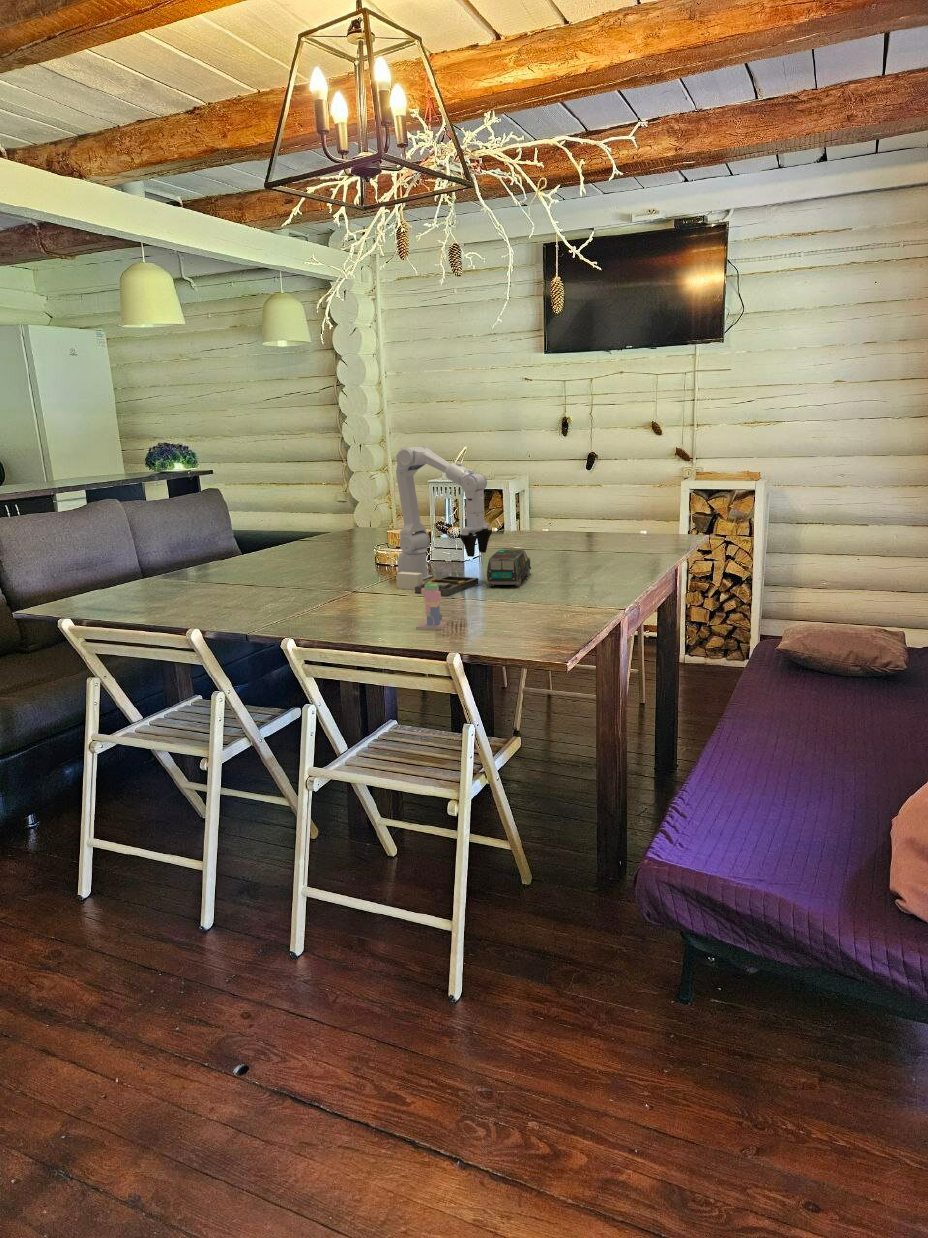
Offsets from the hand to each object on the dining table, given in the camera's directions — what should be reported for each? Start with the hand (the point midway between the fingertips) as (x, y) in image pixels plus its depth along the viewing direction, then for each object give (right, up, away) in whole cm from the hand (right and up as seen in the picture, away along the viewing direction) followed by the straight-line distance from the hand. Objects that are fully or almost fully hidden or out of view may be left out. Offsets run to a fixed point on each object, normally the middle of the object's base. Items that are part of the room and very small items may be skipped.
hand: (476, 554), depth 271 cm
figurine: (-13, -23, -48) cm, 55 cm away
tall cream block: (-21, -11, +2) cm, 24 cm away
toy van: (+11, -9, +6) cm, 15 cm away
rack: (-9, -11, -2) cm, 15 cm away
